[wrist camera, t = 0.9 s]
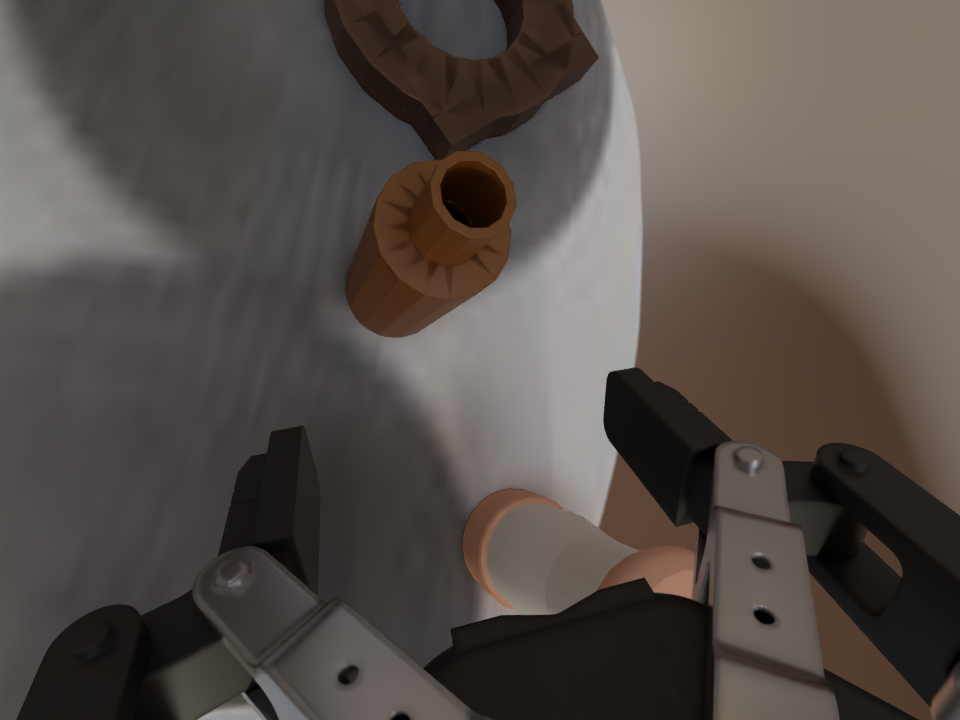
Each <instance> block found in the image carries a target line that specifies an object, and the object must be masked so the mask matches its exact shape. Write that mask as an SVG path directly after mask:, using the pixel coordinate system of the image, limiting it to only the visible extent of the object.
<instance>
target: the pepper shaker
mask: <svg viewBox="0 0 960 720" xmlns="http://www.w3.org/2000/svg"><path fill="white" fill-rule="evenodd" d="M462 549H463V554H464V559H465V564H466V566H467V568H468V570H469V572H470V573H471V575H472V577H473V579H474V580H475V581H477V582H478V583H479V584H480V585H481V586H482V587H483V588H484V589H485V590H486V591H487V592H488V593H489V594H490V595H492V596H493V597H494V598H495V599H496V600H497V601H499V602H500V603H501V604H502V605H504V606H506V607H509V608H512V609H515V610H516V611H517V612H518V613H519V614H520V615H551V614H557V613H560V612H562V611H563V610H565V609H567V608H568V607H570V606H572V605H574V604H575V603H577V602H579V601H580V600H582V599H584V598H586V597H587V596H589V595H591V594H592V593H594V592H596V591H597V590H599V589H602V588H606V587H610V586H614V585H618V584H621V583H625V582H629V581H633V580H636V579H640V578H644V577H645V579H646V580H647V582H648V584H649V585H650V587H651V588H652V590H653V592H654V593H666V594H673V595H678V596H683V597H686V598H689V599H692V588H693V575H694V562H695V553H694V552H692V551H689V550H687V549H685V548H683V547H680V546H656V547H649V548H647V549H644V550H641V551H638V550H636V549H634V548H631V547H629V546H626V545H624V544H622V543H619V542H617V541H615V540H614V539H612V538H611V537H610V536H608V535H607V534H605V533H604V532H603V531H601V530H600V529H599V528H597V527H596V526H595V525H593V524H592V523H590V522H589V521H588V520H586V519H585V518H584V517H581V516H579V515H577V514H574V513H572V512H570V511H567V510H564V509H563V508H562V507H561V506H560V505H559V504H558V503H556V502H554V501H552V500H550V499H547V498H545V497H543V496H540V495H537V494H534V493H531V492H528V491H525V490H522V489H505V490H502V491H499V492H495V493H493V494H491V495H490V496H489V497H487V498H486V499H484V500H483V501H481V502H480V503H479V505H478V506H477V507H476V508H475V510H474V511H473V512H472V514H471V515H470V517H469V520H468V522H467V525H466V527H465V530H464V535H463V546H462Z"/></svg>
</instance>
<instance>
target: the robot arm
mask: <svg viewBox="0 0 960 720" xmlns="http://www.w3.org/2000/svg"><path fill="white" fill-rule="evenodd" d="M603 421H604V428H605V432H606V435H607V437H608V439H609V441H610V442H611V443H612V445H613V446H614V447H615V449H616V450H617V451H618V452H619V454H620V455H621V456H622V458H623V459H624V460H625V461H626V463H627V464H628V465H629V467H630V468H631V469H632V471H633V472H634V473H635V474H636V476H637V477H638V478H639V480H640V481H641V482H642V483H643V485H644V486H645V487H646V489H647V490H648V491H649V492H650V494H651V495H652V496H653V497H654V499H655V500H656V501H657V503H658V504H659V505H660V507H661V508H662V509H663V511H664V512H665V513H666V514H667V516H668V517H669V518H670V520H671V521H672V522H673V524H674V525H675V526H676V527H677V526H681V525H685V524H689V523H693V522H694V523H695V524H696V525H697V526H698V533H697V538H696V549H695V562H694V575H693V588H692V599H689V598H686V597H683V596H678V595H673V594H666V593H654V592H653V590H652V588H651V587H650V585H649V584H648V582H647V580H646V579H645V577H644V578H640V579H636V580H633V581H629V582H625V583H621V584H618V585H614V586H610V587H606V588H602V589H599V590H597V591H596V592H594V593H592V594H591V595H589V596H587V597H586V598H584V599H582V600H580V601H579V602H577V603H575V604H574V605H572V606H570V607H568V608H567V609H565V610H563V611H562V612H560V613H557V614H551V615H501V616H497V617H493V618H489V619H486V620H482V621H478V622H474V623H471V624H467V625H463V626H459V627H456V628H452V629H451V635H452V644H453V646H452V647H450V648H449V649H447V650H445V651H444V652H442V653H441V654H440V655H438V656H437V657H436V658H434V659H433V660H432V661H431V662H429V663H428V664H427V665H426V666H425V667H424V668H422V667H420V666H419V665H418V664H417V663H416V662H414V661H413V660H412V659H411V658H410V657H409V656H407V655H406V654H405V653H404V652H403V651H401V650H400V649H399V648H398V647H397V646H396V645H394V644H393V643H392V642H391V641H390V640H388V639H387V638H386V637H385V636H384V635H383V634H381V633H380V632H379V631H378V630H377V629H375V628H374V627H373V626H372V625H371V624H370V623H368V622H367V621H366V620H365V619H364V618H362V617H361V616H360V615H359V614H358V613H357V612H355V611H354V610H353V609H352V608H351V607H349V606H348V605H347V604H346V603H345V602H343V601H342V600H340V599H338V598H332V599H331V600H330V601H329V602H328V603H326V602H324V601H323V600H322V599H321V598H319V597H318V568H319V533H320V487H319V480H318V475H317V471H316V467H315V463H314V460H313V456H312V452H311V448H310V444H309V441H308V437H307V433H306V430H305V428H304V426H299V427H293V428H287V429H282V430H276V431H272V432H271V434H270V440H269V445H268V451H267V453H265V454H260V455H255V456H251V457H250V458H249V459H248V461H247V462H246V463H245V464H244V466H243V467H242V468H241V469H240V471H239V472H238V475H237V479H236V483H235V488H234V490H235V492H233V496H232V500H231V506H230V508H229V512H228V517H227V521H226V525H225V529H224V533H223V537H222V541H221V546H220V550H219V554H218V557H216V558H215V559H213V560H212V561H211V562H209V563H208V564H207V565H206V566H205V567H204V568H203V569H202V571H201V572H200V573H199V575H198V576H197V578H196V580H195V582H194V584H193V589H192V590H190V591H189V592H187V593H186V594H184V595H183V596H181V597H179V598H177V599H175V600H173V601H171V602H169V603H167V604H165V605H163V606H160V607H158V608H156V609H154V610H152V611H150V612H148V613H146V614H144V615H142V616H140V614H139V613H138V611H137V610H136V609H135V608H133V607H131V606H128V605H121V604H119V605H111V606H106V607H103V608H100V609H97V610H95V611H93V612H90V613H88V614H87V615H85V616H83V617H81V618H80V619H78V620H77V621H75V622H74V623H72V624H71V625H70V626H69V627H67V628H66V629H65V630H64V631H63V632H62V633H61V634H60V635H59V636H58V637H57V638H56V639H55V640H54V641H53V643H52V644H51V645H50V647H49V648H48V650H47V652H46V654H45V656H44V658H43V660H42V662H41V665H40V667H39V669H38V671H37V674H36V676H35V678H34V681H33V683H32V685H31V687H30V690H29V692H28V694H27V697H26V699H25V701H24V703H23V706H22V708H21V710H20V713H19V715H18V717H17V719H16V720H197V719H199V718H201V717H202V716H204V715H206V714H208V713H209V712H211V711H213V710H214V709H216V708H218V707H220V706H221V705H223V704H225V703H226V702H228V701H230V700H231V699H233V698H235V697H237V696H238V695H240V694H241V695H242V696H243V697H244V698H245V700H246V701H247V702H248V703H249V705H250V706H251V707H252V708H253V709H254V711H255V712H256V713H257V714H258V716H259V717H260V718H261V719H262V720H918V719H916V718H915V717H912V716H911V715H909V714H907V713H905V712H903V711H902V710H900V709H898V708H896V707H894V706H892V705H890V704H889V703H887V702H885V701H883V700H881V699H879V698H878V697H876V696H874V695H872V694H870V693H868V692H866V691H864V690H863V689H861V688H859V687H857V686H855V685H854V684H852V683H850V682H848V681H846V680H844V679H843V678H841V677H839V676H837V675H835V674H833V673H832V672H830V671H828V670H826V669H824V668H823V664H822V657H821V651H820V644H819V637H818V630H817V624H816V618H815V611H814V604H813V597H812V590H811V584H810V577H809V572H810V574H811V575H812V576H813V577H814V578H815V579H816V580H817V581H818V582H819V584H820V585H821V586H822V587H823V588H824V589H825V590H826V591H827V593H828V594H829V595H830V596H831V597H832V598H833V599H834V600H835V601H836V603H837V604H838V605H839V606H840V607H841V608H842V609H843V610H844V612H845V613H846V614H847V615H848V616H849V617H850V618H851V619H852V620H853V622H854V623H855V624H856V625H857V626H858V627H859V628H860V629H861V631H862V632H863V633H864V634H865V635H866V636H867V637H868V638H869V639H870V641H872V643H873V644H874V645H875V646H876V647H877V648H878V650H879V651H880V652H881V653H882V654H883V655H884V656H885V657H886V658H887V659H888V661H889V662H890V663H891V664H892V665H893V666H894V667H895V668H896V670H897V671H898V672H899V673H900V674H901V675H902V676H903V677H904V679H905V680H906V681H907V682H908V683H909V684H910V685H911V686H912V688H913V689H914V690H915V691H916V692H917V693H918V694H919V695H920V696H921V697H922V699H923V700H924V701H925V702H926V703H927V704H928V705H929V707H930V708H931V714H932V718H933V720H960V516H959V515H958V514H957V513H955V512H954V511H953V510H951V509H950V508H948V507H947V506H946V505H945V504H943V503H942V502H940V501H939V500H938V499H936V498H935V497H934V496H932V495H931V494H930V493H928V492H927V491H926V490H924V489H923V488H921V487H920V486H919V485H917V484H916V483H915V482H913V481H912V480H911V479H909V478H908V477H907V476H905V475H904V474H902V473H901V472H900V471H898V470H897V469H896V468H894V467H893V466H892V465H890V464H889V463H888V462H886V461H885V460H884V459H882V458H881V457H879V456H878V455H876V454H874V453H873V452H871V451H868V450H866V449H864V448H861V447H857V446H854V445H850V444H843V443H830V444H826V445H823V446H821V447H820V448H819V450H818V451H817V454H816V457H815V460H814V462H800V461H781V460H780V458H779V457H778V456H777V455H776V454H774V453H773V452H772V451H770V450H769V449H767V448H765V447H763V446H761V445H758V444H755V443H751V442H747V441H733V440H732V439H730V438H729V437H728V436H727V435H726V434H725V433H724V432H723V431H721V430H720V429H719V428H718V427H717V426H716V425H715V424H714V423H712V422H711V421H710V420H709V419H708V418H707V417H706V416H705V415H704V414H702V413H701V412H698V409H697V408H696V407H695V406H693V405H692V404H691V403H688V400H687V399H686V398H685V397H683V396H682V395H681V394H680V393H679V392H678V391H677V390H675V389H673V388H671V387H669V386H667V385H664V384H663V383H661V382H653V381H652V380H651V379H650V378H649V377H648V376H647V375H646V374H645V373H644V372H643V371H642V370H640V369H639V368H637V367H635V368H629V369H624V370H618V371H612V372H610V373H609V374H608V376H607V382H606V394H605V406H604V419H603ZM868 530H869V531H870V532H871V533H872V534H873V535H875V536H876V537H877V538H878V539H879V540H880V541H881V542H882V543H883V544H885V545H886V546H887V547H888V548H889V549H890V550H891V551H892V552H893V553H894V554H895V555H896V556H897V558H898V560H899V561H900V563H901V566H902V570H903V576H902V578H901V577H900V576H899V575H898V574H897V573H896V572H895V571H894V570H893V569H891V567H889V566H888V565H887V564H886V563H885V562H884V561H883V560H882V559H881V558H880V557H879V556H878V555H877V554H876V553H875V552H873V551H872V550H871V549H870V548H869V547H868V546H867V545H866V544H865V543H864V542H863V541H864V539H865V536H866V534H867V532H868Z"/></svg>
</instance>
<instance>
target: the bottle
mask: <svg viewBox="0 0 960 720" xmlns="http://www.w3.org/2000/svg"><path fill="white" fill-rule="evenodd" d="M515 208H516V200H515V193H514V186H513V182H512V181H511V179H510V178H509V176H508V175H507V173H506V172H505V170H504V169H503V167H502V166H501V164H499V163H498V162H497V161H495V160H493V159H492V158H490V157H488V156H486V155H485V154H483V153H481V152H479V151H456V152H454V153H452V154H451V155H449V156H447V157H446V158H444V159H443V160H433V161H424V162H415V163H412V164H411V165H409V166H407V167H406V168H404V169H402V170H401V171H399V172H397V173H396V174H394V175H392V177H390V179H389V180H388V182H387V183H386V185H385V187H384V188H383V190H382V191H381V193H380V194H379V196H378V197H377V199H376V202H375V205H374V207H373V210H372V212H371V215H370V217H369V220H368V223H367V225H366V228H365V230H364V233H363V235H362V238H361V241H360V243H359V246H358V248H357V251H356V253H355V256H354V259H353V261H352V264H351V266H350V269H349V272H348V277H347V282H346V296H347V301H348V304H349V307H350V309H351V311H352V313H353V314H354V316H355V317H356V318H357V320H358V321H359V322H360V323H361V324H362V325H363V326H365V327H366V328H367V329H369V330H370V331H372V332H374V333H376V334H379V335H382V336H386V337H404V336H408V335H411V334H414V333H417V332H419V331H420V330H422V329H423V328H425V327H426V326H428V325H429V324H431V323H433V322H434V321H436V320H437V319H439V318H440V317H442V316H443V315H445V314H447V313H448V312H450V311H451V310H453V309H454V308H456V307H457V306H459V305H461V304H462V303H464V302H465V301H467V300H468V299H470V298H471V297H473V296H475V295H476V294H478V293H479V292H480V291H482V290H483V289H484V288H486V287H487V286H488V285H490V284H491V283H492V282H494V281H495V280H496V279H497V277H498V276H499V274H500V272H501V270H502V268H503V267H504V265H505V263H506V261H507V259H508V257H509V248H510V238H511V229H510V226H509V223H510V220H511V218H512V215H513V213H514V210H515Z"/></svg>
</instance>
